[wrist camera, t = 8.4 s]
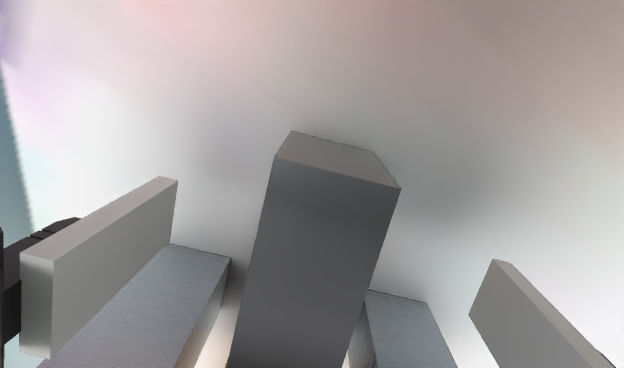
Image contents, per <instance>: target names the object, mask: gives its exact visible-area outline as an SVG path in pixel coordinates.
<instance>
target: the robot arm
mask: <svg viewBox="0 0 624 368" xmlns="http://www.w3.org/2000/svg"><path fill="white" fill-rule="evenodd" d="M177 185H178V180H174V179H170V178H165V177H161V176H159V177H157V178H155V179H153V180H151V181H149V182H148V183H146V184H144V185H142V186H140V187H139V188H137V189H135V190H133V191H131V192H129V193H128V194H126V195H124V196H122V197H120V198H119V199H117V200H115V201H113V202H111V203H109V204H108V205H106V206H104V207H102V208H100V209H99V210H97V211H95V212H93V213H91V214H89V215H88V216H86V217H84V218H82V219H81V218H76V217H74V218H70V219H66V220H62V221H58V222H55V223H53V224H51V225H49V226H47V227H45V228H43V229H42V231H37V232H35V233H33V234H31V235H30V237H26V238H24V239H22V240H20V241H18V242H16V243H14V244H12V245H10V246H8V247H6V248H4V249H3V231H2V229H1V227H0V368H4V345H5V344H6V343H7V342H8V341H9V340H11V339H12V338H13V337H14V336H16V335H17V334H18V333H19V352H20V353H25V354H29V355H33V356H38V357H42V358H46V359H51V358H52V357H53V356H54V355H55V354H56V353H57V352H58V351H59V350H60V349H61V348H62V347H63V346H64V345H65V344H66V343H67V342H68V341H69V340H71V339H72V338H73V337H74V336H75V335H76V334H77V333H78V332H79V331H80V330H81V329H82V328H83V327H84V326H85V325H86V324H87V323H88V322H89V321H90V320H91V319H92V318H93V317H94V316H95V315H96V314H97V313H98V312H99V311H100V310H101V309H102V308H103V307H104V306H105V305H106V304H107V303H108V302H109V301H110V300H111V299H112V298H113V297H114V296H115V295H116V294H117V293H118V292H119V291H120V290H121V289H122V288H123V287H124V286H125V285H126V284H127V283H128V282H129V281H130V280H131V279H132V278H133V277H134V276H135V275H136V274H137V273H138V272H139V271H140V270H141V269H142V268H143V267H144V266H145V265H146V264H147V263H148V262H149V261H150V260H151V259H152V258H153V257H154V256H155V255H156V254H157V253H158V252H159V251H160V250H161V249H162V248H163V247H164V246H165V245H166V244H167V243H169V242H170V235H171V228H172V221H173V213H174V206H175V199H176V192H177ZM468 315H469V317H470V318H471V320H472V322H473V323H474V325H475V327H476V328H477V330H478V332H479V333H480V335H481V337H482V339H483V340H484V342H485V344H486V345H487V347H488V349H489V350H490V352H491V354H492V356H493V357H494V359H495V361H496V362H497V364H498V366H499V367H500V368H616V367H615V366H614V365H613V364H612V363H611V362H610V361H609V360H608V359H607V358H606V357H605V356H604V355H603V354H602V353H600V352H599V351H598V350H596V349H595V348H594V347H593V346H592V345H591V344H590V343H589V342H588V341H587V340H586V339H585V338H584V337H583V336H582V334H581V333H580V332H579V331H578V330H577V329H576V328H575V327H574V326H573V325H572V324H571V323H570V322H569V321H568V320H567V319H566V318H565V317H564V316H563V315H562V314H561V313H560V312H559V311H558V310H557V309H556V308H555V307H554V306H553V305H552V304H551V303H550V302H549V301H548V300H547V299H546V298H545V297H544V296H543V295H542V294H541V293H540V292H539V291H538V290H537V289H536V288H535V287H534V286H533V285H532V284H531V283H530V282H529V281H528V280H527V279H526V278H525V277H524V276H523V275H522V274H521V273H520V272H519V271H518V270H517V269H516V268H515V267H514V266H513V265H512V264H511V263H508V262H504V261H500V260H496V259H492V262H491V264H490V266H489V268H488V271H487V273H486V275H485V278H484V280H483V282H482V284H481V287H480V289H479V291H478V294H477V296H476V298H475V300H474V303H473V305H472V307H471V310H470V312H469V314H468Z"/></svg>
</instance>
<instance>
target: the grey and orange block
mask: <svg viewBox="0 0 624 368" xmlns="http://www.w3.org/2000/svg"><path fill="white" fill-rule="evenodd" d="M400 191H401V188H400V187H399V185H398V184H397V183H396V181H395V180H394V179H393V178H392V176H391V175H390V174H389V172H388V171H387V170H386V169H385V167H384V166H383V165H382V163H381V162H380V161H379V160H378V158H377V157H376V156H375V154H374V153H373V152H372V151H368V150H364V149H360V148H356V147H352V146H348V145H344V144H341V143H337V142H333V141H329V140H325V139H321V138H317V137H313V136H309V135H305V134H301V133H297V132H294V131H291V132H290V134H289V135H288V137H287V139H286V140H285V142H284V143H283V145H282V146H281V148H280V149H279V151H278V152H277V154H276V155H275V157H274V160H273V165H272V169H271V174H270V178H269V182H268V187H267V191H266V196H265V200H264V204H263V209H262V213H261V218H260V222H259V226H258V231H257V235H256V240H255V244H254V249H253V253H252V257H251V262H250V266H249V271H248V275H247V279H246V284H245V288H244V293H243V297H242V301H241V306H240V310H239V315H238V319H237V323H236V328H235V332H234V337H233V341H232V345H231V350H230V354H229V358H228V361H227V363H226V366H225V368H341V367H342V364H343V361H344V358H345V355H346V352H347V349H348V346H349V343H350V340H351V338H352V335H353V332H354V329H355V326H356V323H357V320H358V317H359V314H360V311H361V308H362V305H363V302H364V299H365V296H366V293H367V290H368V287H369V284H370V281H371V278H372V275H373V272H374V269H375V266H376V263H377V260H378V257H379V254H380V251H381V248H382V245H383V242H384V239H385V236H386V233H387V230H388V227H389V224H390V221H391V218H392V215H393V212H394V209H395V206H396V203H397V200H398V197H399V194H400Z"/></svg>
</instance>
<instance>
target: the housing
mask: <svg viewBox="0 0 624 368" xmlns="http://www.w3.org/2000/svg"><path fill="white" fill-rule="evenodd" d="M230 259H231V258H229V257H225V256H220V255H216V254H212V253H207V252H203V251H199V250H194V249H190V248H186V247H181V246H177V245H173V244H169V243H167V244H166V245H165V246H164V247H163V248H162V249H161V250H160V251H159V252H158V253H157V254H156V255H155V256H154V257H153V258H152V259H151V260H150V261H149V262H148V263H147V264H146V265H145V266H144V267H143V268H142V269H141V270H140V271H139V272H138V273H137V274H136V275H135V276H134V277H133V278H132V279H131V280H130V281H129V282H128V283H127V284H126V285H125V286H124V287H123V288H122V289H121V290H120V291H119V292H118V293H117V294H116V295H115V296H114V297H113V298H112V299H111V300H110V301H109V302H108V303H107V304H106V305H105V306H104V307H103V308H102V309H101V310H100V311H99V312H98V313H97V314H96V315H95V316H94V317H93V318H92V319H91V320H90V321H89V322H88V323H87V324H86V325H85V326H84V327H83V328H82V329H81V330H80V331H79V332H78V333H77V334H76V335H75V336H74V337H73V338H72V339H71V340H69V341H68V342H67V343H66V344H65V345H64V346H63V347H62V348H61V349H60V350H59V351H58V352H57V353H56V354H55V355H54V356H53V357H52V358H51V359H45V360H44V361H43V362H42V363H41V364H40V365H39V366H38V367H37V368H194V366H195V364H196V362H197V360H198V357H199V355H200V353H201V351H202V348H203V346H204V344H205V342H206V340H207V337H208V335H209V333H210V331H211V329H212V326H213V324H214V322H215V320H216V318H217V315H218V313H219V311H220V309H221V304H222V299H223V294H224V289H225V284H226V279H227V274H228V269H229V264H230ZM348 356H349V366H350V368H458V367H457V365H456V363H455V361H454V359H453V357H452V355H451V352H450V350H449V348H448V346H447V344H446V342H445V340H444V338H443V336H442V334H441V332H440V330H439V328H438V326H437V324H436V322H435V319H434V317H433V315H432V313H431V311H430V309H429V307H428V305H427V303H423V302H418V301H414V300H410V299H405V298H401V297H397V296H392V295H388V294H384V293H380V292H375V291H371V290H367V293H366V296H365V299H364V302H363V305H362V308H361V311H360V314H359V317H358V320H357V323H356V326H355V329H354V332H353V335H352V338H351V340H350V343H349V346H348Z"/></svg>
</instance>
